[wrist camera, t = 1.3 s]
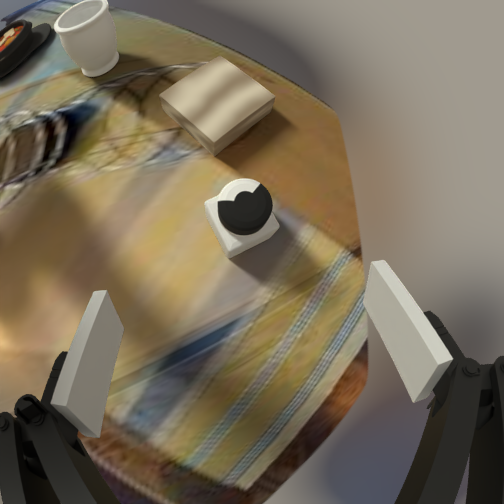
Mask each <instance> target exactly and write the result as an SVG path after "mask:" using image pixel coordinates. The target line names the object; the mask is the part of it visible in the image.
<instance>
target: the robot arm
mask: <svg viewBox="0 0 504 504" xmlns="http://www.w3.org/2000/svg"><path fill="white" fill-rule="evenodd" d="M363 304H364V306H365V308H366V310H367V312H368V313H369V315H370V317H371V319H372V321H373V323H374V325H375V326H376V328H377V330H378V332H379V334H380V336H381V338H382V340H383V342H384V344H385V346H386V348H387V349H388V352H389V353H390V355H391V357H392V359H393V361H394V363H395V365H396V368H397V369H398V372H399V374H400V375H401V378H402V380H403V382H404V384H405V386H406V388H407V390H408V393H409V395H410V397H411V399H412V401H413V403H414V402H416V401H420V400H422V399H425V398H427V397H428V396H429V395H430V393H431V392H432V390H433V392H434V394H435V395H436V396H435V397H434V398H433V400H432V401H431V402H430V403H429V405H428V407H427V409H429V408H430V407H431V409H430V413H429V416H428V420H427V423H426V426H425V429H424V432H423V435H422V438H421V441H420V445H419V447H418V450H417V452H416V455H415V458H414V461H413V463H412V466H411V468H410V470H409V473H408V475H407V477H406V480H405V482H404V484H403V487H402V489H401V491H400V493H399V495H398V497H397V499H396V501H395V504H454V502H455V499H456V496H457V493H458V490H459V487H460V484H461V481H462V478H463V475H464V471H465V467H466V464H467V461H468V457H469V453H470V461H469V478H468V488H467V497H466V504H504V356H500V357H498V358H497V359H496V361H495V362H494V364H485V365H480V364H479V363H478V362H477V361H475V360H473V359H471V358H465V356H464V355H463V353H462V352H461V350H460V349H459V347H458V346H457V344H456V343H455V341H454V340H453V338H452V337H451V335H450V334H449V333H448V331H447V329H446V328H445V327H444V325H443V323H442V322H441V321H440V319H439V318H438V317H437V316H436V315H435V314H433V313H432V312H431V311H427V312H422V310H421V309H420V308H419V306H418V305H417V303H416V302H415V301H414V299H413V298H412V296H411V295H410V294H409V292H408V291H407V289H406V288H405V287H404V285H403V284H402V283H401V281H400V280H399V279H398V277H397V276H396V275H395V273H394V272H393V271H392V269H391V268H390V267H389V265H388V264H387V263H386V262H385V260H380V261H373V262H371V266H370V272H369V277H368V282H367V287H366V291H365V296H364V300H363ZM123 332H124V327H123V325H122V323H121V321H120V318H119V316H118V314H117V312H116V310H115V307H114V305H113V303H112V301H111V298H110V296H109V294H108V291H107V290H100V291H94V292H93V295H92V297H91V299H90V301H89V303H88V306H87V308H86V310H85V312H84V315H83V317H82V319H81V322H80V324H79V326H78V329H77V331H76V334H75V336H74V338H73V341H72V343H71V346H70V349H69V351H68V352H64V351H62V352H61V354H60V355H59V356H58V357H57V359H56V360H55V363H54V365H53V368H52V371H51V373H50V376H49V377H50V378H49V379H48V381H47V384H46V387H45V390H44V393H43V396H42V399H41V402H40V401H39V400H38V399H37V398H36V397H35V396H33V395H32V394H26V395H24V396H22V397H21V398H19V399H18V401H17V402H16V404H15V408H14V412H15V415H16V416H17V418H14V417H13V416H12V415H11V414H10V413H8V412H2V413H0V491H1V496H2V501H3V504H121V503H120V502H119V500H118V499H117V498H116V496H115V495H114V493H113V492H112V491H111V489H110V488H109V486H108V485H107V483H106V482H105V480H104V479H103V477H102V476H101V474H100V473H99V471H98V469H97V468H96V466H95V465H94V463H93V461H92V460H91V458H90V456H89V455H88V453H87V451H86V449H85V448H84V446H83V444H82V442H81V440H80V439H79V438H78V437H77V434H78V430H79V431H80V432H81V433H82V434H83V435H84V436H89V437H96V438H100V432H101V427H102V421H103V416H104V411H105V406H106V401H107V397H108V392H109V388H110V383H111V379H112V375H113V371H114V366H115V362H116V358H117V355H118V351H119V347H120V343H121V339H122V336H123ZM431 405H432V406H431ZM60 502H61V503H60Z"/></svg>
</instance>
